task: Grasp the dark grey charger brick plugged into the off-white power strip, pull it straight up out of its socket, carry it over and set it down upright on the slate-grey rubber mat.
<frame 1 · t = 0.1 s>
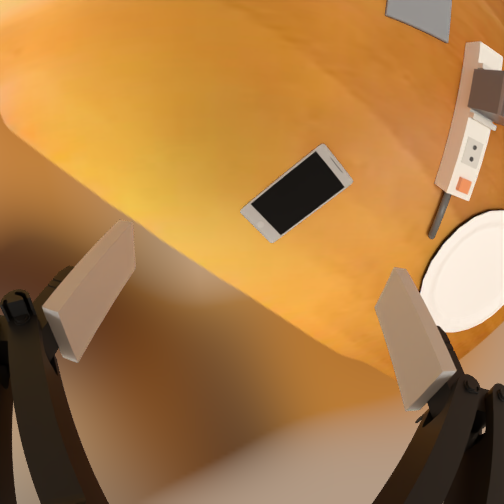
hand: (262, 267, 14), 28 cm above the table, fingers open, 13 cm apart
plate: (476, 273, 46), on the table
smartphone: (295, 193, 42), on the table
charger: (485, 96, 26), point 4 cm above the table, touching power strip
mat: (420, 1, 24), on the table
power strip: (465, 116, 32), on the table
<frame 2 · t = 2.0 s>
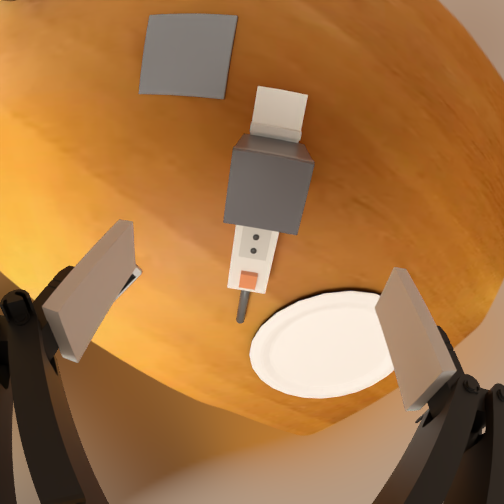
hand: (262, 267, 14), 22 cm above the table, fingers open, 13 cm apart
plate: (332, 349, 49), on the table
charger: (268, 166, 29), point 4 cm above the table, touching power strip
mat: (186, 53, 26), on the table
power strip: (263, 190, 35), on the table
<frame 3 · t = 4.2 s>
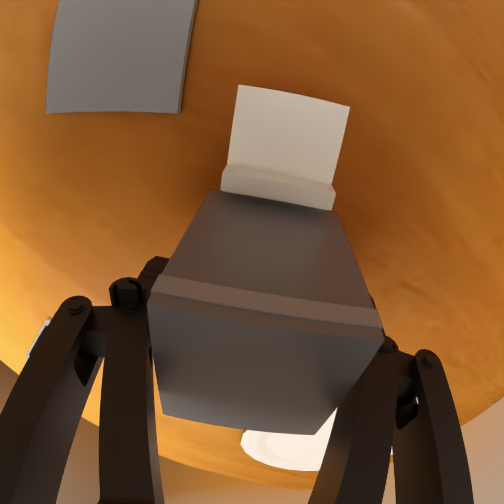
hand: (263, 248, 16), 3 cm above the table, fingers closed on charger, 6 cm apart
plate: (343, 433, 35), on the table
charger: (263, 254, 15), point 4 cm above the table, touching gripper, power strip
mat: (114, 35, 13), on the table
power strip: (255, 272, 21), on the table
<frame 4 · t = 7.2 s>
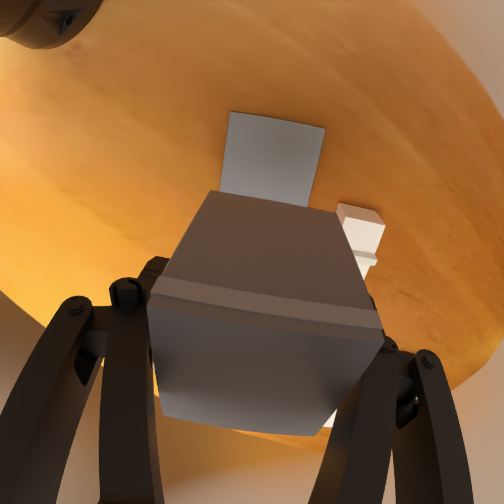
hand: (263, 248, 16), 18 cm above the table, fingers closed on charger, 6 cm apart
charger: (263, 255, 15), point 19 cm above the table, touching gripper
mat: (270, 162, 31), on the table
power strip: (329, 287, 39), on the table
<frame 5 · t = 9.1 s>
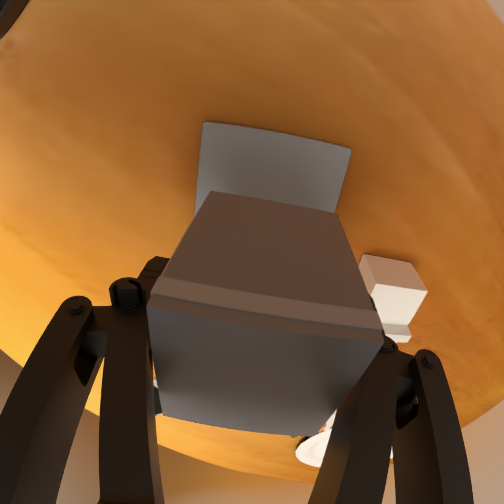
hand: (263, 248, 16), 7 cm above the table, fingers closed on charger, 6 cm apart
plate: (371, 438, 44), on the table
smartphone: (147, 397, 39), on the table
charger: (263, 255, 15), point 7 cm above the table, touching gripper
mat: (266, 199, 21), on the table
power strip: (342, 351, 29), on the table
when the fingers open (2 cm above the table, at t = 10.5 s): charger drops 2 cm, resting on mat.
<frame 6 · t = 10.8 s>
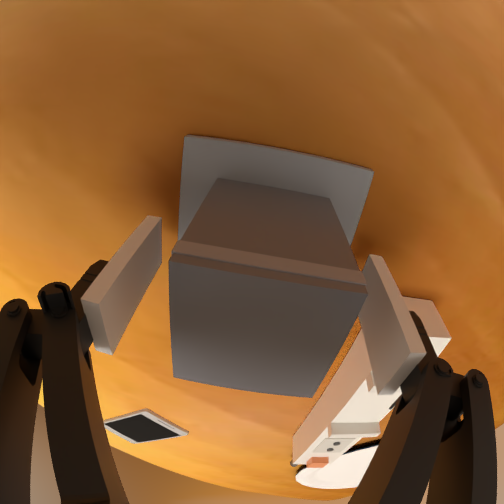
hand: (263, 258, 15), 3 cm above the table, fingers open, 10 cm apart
plate: (374, 461, 40), on the table
smartphone: (140, 424, 35), on the table
charger: (264, 237, 17), point 1 cm above the table, touching mat
mat: (265, 232, 17), on the table
power strip: (348, 390, 25), on the table
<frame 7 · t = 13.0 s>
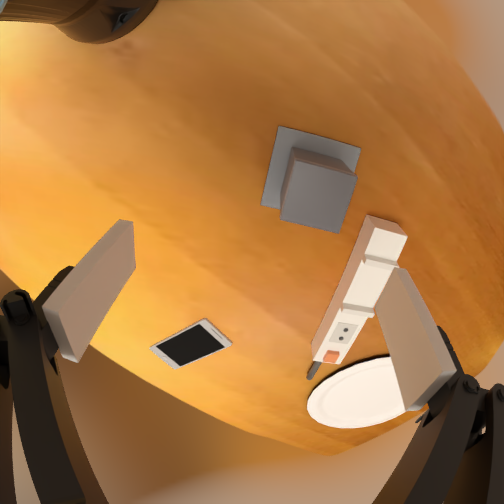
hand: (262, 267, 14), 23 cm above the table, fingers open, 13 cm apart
plate: (371, 392, 56), on the table
smartphone: (189, 343, 52), on the table
charger: (310, 176, 34), point 1 cm above the table, touching mat
mat: (310, 175, 35), on the table
power strip: (351, 290, 42), on the table
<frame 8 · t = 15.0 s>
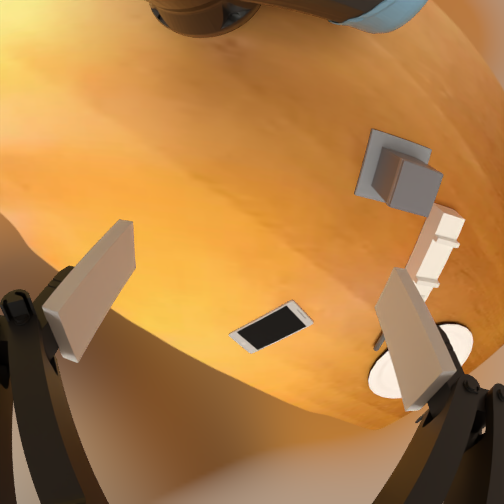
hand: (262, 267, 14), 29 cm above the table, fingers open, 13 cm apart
plate: (421, 361, 61), on the table
smartphone: (270, 326, 56), on the table
charger: (394, 171, 38), point 1 cm above the table, touching mat
mat: (393, 170, 38), on the table
power strip: (417, 266, 46), on the table
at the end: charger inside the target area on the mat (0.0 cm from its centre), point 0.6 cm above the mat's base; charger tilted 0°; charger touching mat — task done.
